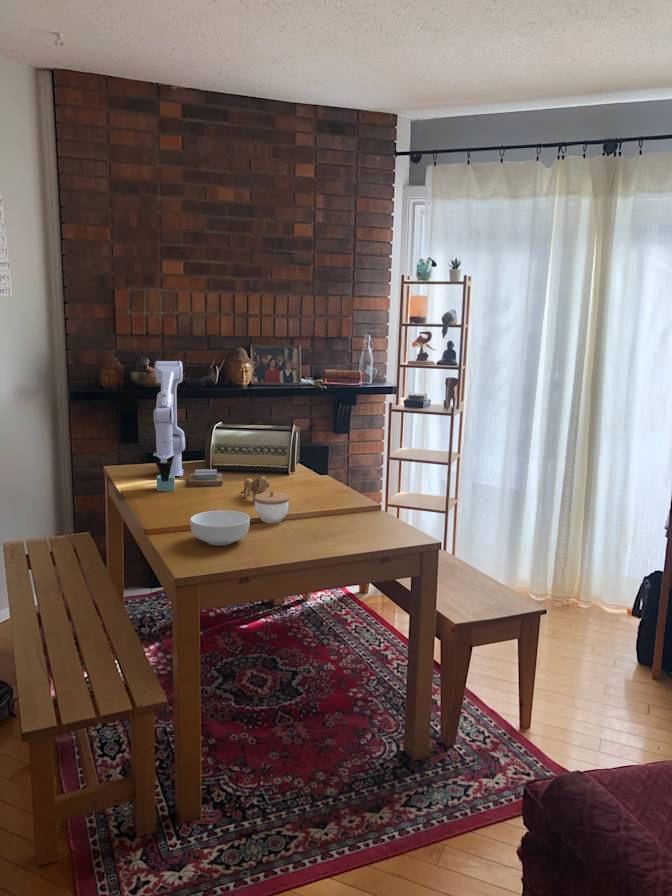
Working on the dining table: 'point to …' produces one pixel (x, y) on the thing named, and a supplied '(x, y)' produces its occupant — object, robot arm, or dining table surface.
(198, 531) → the cereal bowl
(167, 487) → the teal brick
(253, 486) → the lion figurine
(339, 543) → the dining table surface
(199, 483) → the tower base
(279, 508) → the lidded jar
